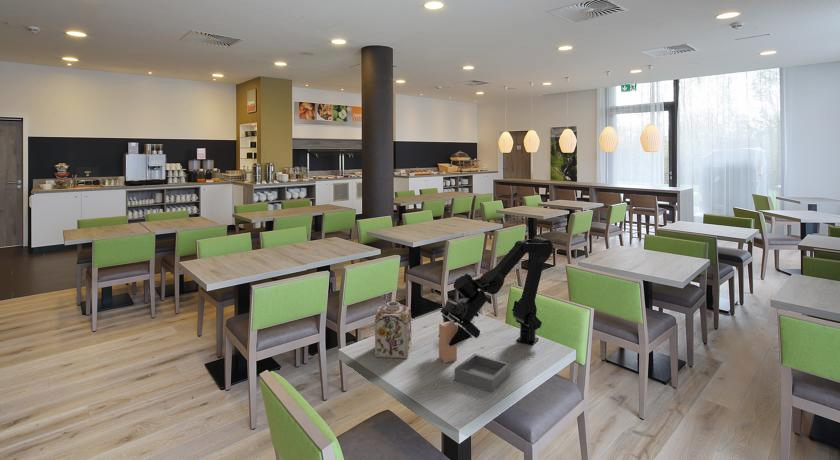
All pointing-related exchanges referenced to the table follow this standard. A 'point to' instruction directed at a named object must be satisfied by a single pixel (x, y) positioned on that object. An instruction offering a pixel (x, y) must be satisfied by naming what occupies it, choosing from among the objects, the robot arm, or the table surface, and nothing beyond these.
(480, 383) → the box
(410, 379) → the table surface
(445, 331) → the terracotta block
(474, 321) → the jar
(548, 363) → the table surface
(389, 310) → the decorative jar
